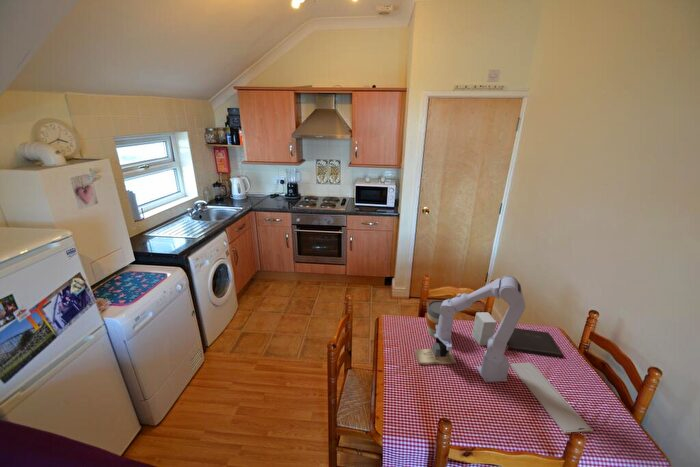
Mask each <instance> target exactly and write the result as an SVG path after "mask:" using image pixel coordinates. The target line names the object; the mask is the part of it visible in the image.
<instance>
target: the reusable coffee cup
mask: <svg viewBox="0 0 700 467" xmlns="http://www.w3.org/2000/svg"><path fill="white" fill-rule="evenodd" d="M443 301H444V300H440V299H439V300H438V299H435V300H432V301H429V303H428V304H427V307H426V325H427V333H428V335H429V336H430V337H432V338H434V339H435V337H434V333H436V328H435V327H436V325H438V323H439V316H440V307H441V305H442V302H443Z"/></svg>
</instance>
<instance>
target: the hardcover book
mask: <svg viewBox="0 0 700 467" xmlns="http://www.w3.org/2000/svg"><path fill="white" fill-rule="evenodd" d="M506 350H507V351H512V352H518V353H523V354H524V353H525V354H532V355H537V354H538V356H545V357H551V356H552V357H553V358H557V357H559V358H558V359H563V357H564V354H563V352H562V351H561V349H560V347H558V344H557V343H556V342H555V340H554V338H553V337H552V335H551V334H550V332H547V331H540V330H539V331H538V330H532V329H524V328H517V327H515V329H514V331H513V333H512V335H511V337H510V338H509V340H508V342H507V345H506ZM552 357H551V358H552Z"/></svg>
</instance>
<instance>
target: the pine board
mask: <svg viewBox="0 0 700 467" xmlns="http://www.w3.org/2000/svg"><path fill="white" fill-rule="evenodd" d="M413 352H414V354H415V357H416V359H417V362H418V365H419V366H425V365H427V366H428V365H451V364H454V365H455V364H456V363H457V361H456V359H455V357H454V355H453V354H452V351H451V350H450V351H449V356H448V358H439V359H435V358H434V356H433V354H432V348H422V349H421V348H416V349H414V351H413Z"/></svg>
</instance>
